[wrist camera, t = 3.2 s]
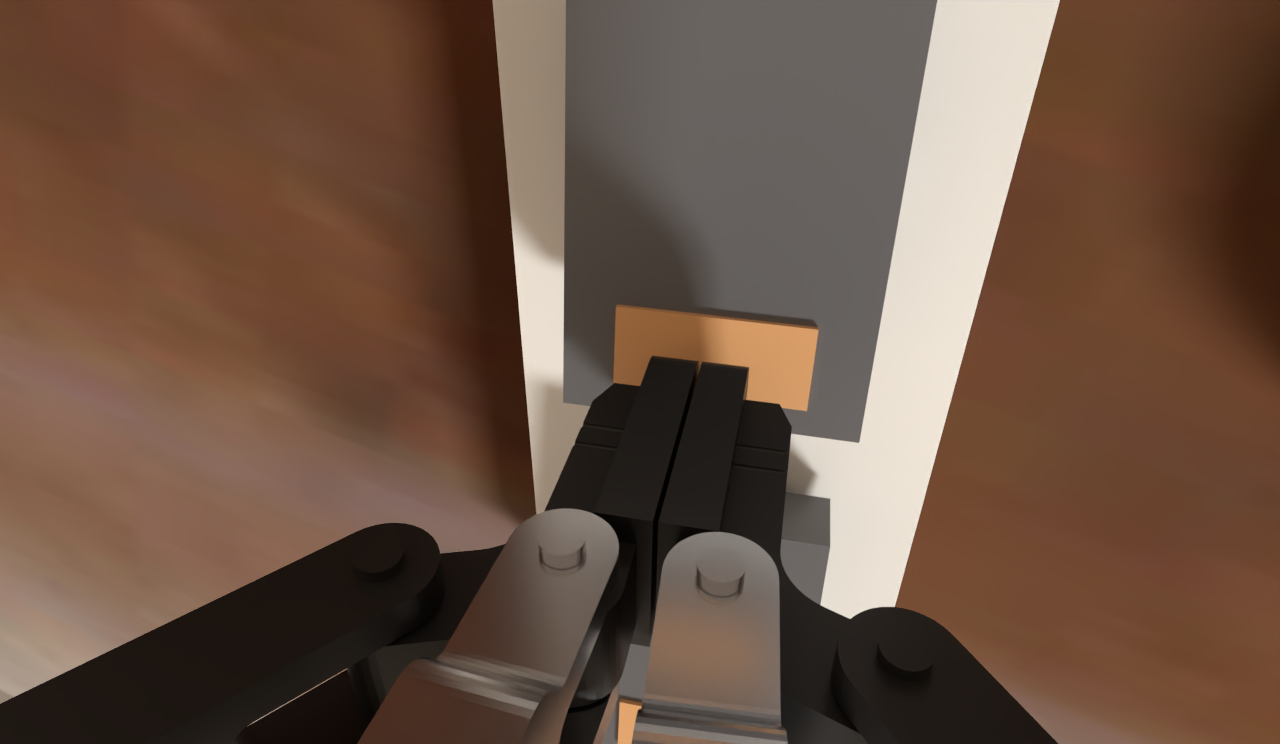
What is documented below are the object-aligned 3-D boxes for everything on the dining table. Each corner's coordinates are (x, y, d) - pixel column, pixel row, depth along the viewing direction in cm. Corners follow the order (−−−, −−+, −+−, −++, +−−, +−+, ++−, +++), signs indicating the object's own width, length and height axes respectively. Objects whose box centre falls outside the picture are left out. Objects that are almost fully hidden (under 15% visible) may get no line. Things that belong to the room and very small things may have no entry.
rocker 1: (928, -32, 12) (945, -39, 10) (855, 396, 15) (859, 445, 13) (599, -45, 13) (563, -54, 11) (590, 362, 16) (561, 405, 14)
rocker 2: (830, 498, 18) (829, 549, 16) (791, 732, 21) (788, 796, 19) (608, 465, 19) (585, 510, 17) (600, 694, 22) (580, 753, 20)
